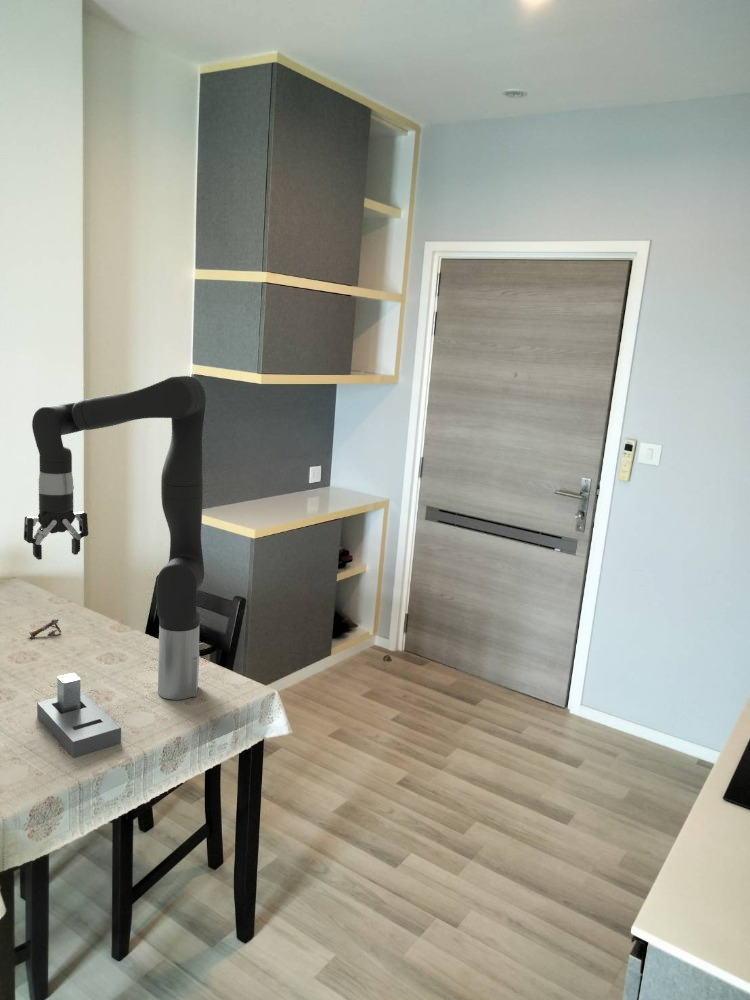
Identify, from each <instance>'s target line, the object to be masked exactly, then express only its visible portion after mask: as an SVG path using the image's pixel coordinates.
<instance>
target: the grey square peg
mask: <svg viewBox="0 0 750 1000" xmlns="http://www.w3.org/2000/svg"><path fill="white" fill-rule="evenodd" d="M56 678H57V679H56V680H57V681H56V688H57V691H56V692H57V696H56V698H57V710H58V712H59V713H60V714H63V713H67V712H71V711H75V710H78V709H80V691H81V678H80V677H79V676H78V675H77V674H76V673H75V672H73V673H67V674H64V675H63V674H62V675H58V676H57V677H56Z"/></svg>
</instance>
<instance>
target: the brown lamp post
mask: <svg viewBox="0 0 750 1000" xmlns="http://www.w3.org/2000/svg"><path fill="white" fill-rule="evenodd" d="M59 621H60V620H59V618H56V619H55V618H54V619H51V621H50V622H48V624H47V623H46V624H44V625H43V626H41V627H40V628H38V629H36V630H33V631H28V634H29V636H30V637H31V638H32V639H33V640H34V639H35V637H36V636H38V635H39V634H40V633H42V632H44V631H46V630H47V629H49V628H50V627H52V628H54V629H52V630H51V631H49V632H48V633H47V636H53V635H55V634H56V633H57V632H58V633H60V634H61V633H62V631H61V628H60V627H59V626H58V622H59Z"/></svg>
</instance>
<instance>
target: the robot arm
mask: <svg viewBox="0 0 750 1000" xmlns="http://www.w3.org/2000/svg"><path fill="white" fill-rule="evenodd" d="M206 397H207V396H206V392H205V388H204V386H203V385H202V383H201V382H200V381H199V379H197V378H195V377H193V376H190V375H181V376H180V375H179V376H171V377H168V378H165V379H164V380H161V381H159V382H156V383H153V384H151V385H149V386H146V387H143V388H141V389H137V390H133V391H129V392H124V393H115V394H114V393H113V394H106V395H100V396H95V397H91V398H86V399H82V400H79V401H77V402H71V403H63V404H55V405H47V406H46V405H45V406H42V407H39V408H37V410H36V411H35V412H34V414H33V416H32V421H31V428H32V432H33V433H32V434H33V436H34V440H35V444H36V447H37V450H38V454H39V458H38V459H39V461H38V462H39V475H38V510H39V511H38V512H39V513H38V515H37V516H30V515H26V516H25V517H24V525H23V527H24V528H23V541H25V542H27V543H28V544H32V555H33V557H34V558H35V559H37V560H38V561H40V560H42V559H43V554H42V553H43V550H42V549H43V547H42V541H43V540H44V539H45V538H46V537H48V535H49V534H57V533H66V532H68V533H69V534H70V536H71V537H72V538H71V553H72V554H73V555H74V556H76V555H78V554H79V553H80V551H81V539H82V538H84V537H87V536H89V525H88V524H89V523H88V513H86V512H84V511H83V510H79V511H78V512H74V489H75V486H74V477H73V454H72V450H71V448H69V447H67V446H65V445H64V444H63V437H62V436H64V435H65V436H66V435H69V434H73V433H74V434H75V433H78V432H81V431H91V430H97V429H104V428H108V427H114V426H116V425H117V426H118V425H121V424H124V423H128V422H132V421H137V420H142V419H171V436H170V438H171V439H170V443H169V447H168V450H167V454H166V457H165V460H164V463H163V466H162V470H161V471H162V472H161V480H160V481H161V483H160V484H161V485H160V487H161V488H160V489H161V496H160V497H161V507H162V509H163V515H164V518H165V521H166V523H167V527H168V530H169V535H170V536H169V537H170V542H169V544H170V545H169V556H168V563H166V565H164V566H163V567H162V568H161V570H160V571H159V573H158V575H157V579H156V581H157V582H156V614H157V617H158V620H159V624H158V625H159V627H158V628H159V629H158V631H159V633H158V635H159V636H158V637H159V638H158V669H157V670H158V672H157V673H158V674H157V675H158V677H157V693H158V695H159V696H160V697H161V698H163V699H167V700H173V701H174V700H175V701H179V700H186V699H190V698H196V697H197V694H198V690H199V689H198V688H199V670H200V669H199V668H200V650H199V648H200V623H201V622H200V621H201V620H200V618H201V617H200V616H201V615H200V612H199V611H198V609H197V594H198V592H197V591H198V590H199V588H200V587H201V586H202V584H203V582H204V579H205V566H204V565H205V564H204V555H203V549H202V547H203V546H202V524H203V523H202V522H203V501H204V500H203V493H204V492H203V491H204V488H203V487H204V486H203V484H204V483H203V480H204V479H203V431H204V419H205V413H206V401H207V400H206V399H207V398H206ZM75 519H76V521H78V528H79V529H78V531H77V529H75V527H74V526H73V525H72V524H73V522H74V521H75ZM37 523H38V524H40V526H39V527H38V529H37V531H36V533H34V527H35V526H36V525H37Z"/></svg>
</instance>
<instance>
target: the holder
mask: <svg viewBox="0 0 750 1000" xmlns="http://www.w3.org/2000/svg"><path fill="white" fill-rule="evenodd" d="M36 710H37V712H36V715H37V716H36V718H37V719H38V718H39V719H40V720H39V719H38V720H39V721H40V722H41V723H42V724H43V726H44V727H46V728H47V730H48V731H49V732H50V733H51V734H52V735H53V737H54V738H55V739H56V740H57V741H58V742H59V743H60V745H61V746H62V747H63V748H64V749H65V750H66V751H67V752H68V754H69V755H70V756H71V757H72V758H76V757H80V756H83V755H87V754H89V753H94V752H96V751H99V750H102V749H107V748H109V747H111V746H115V745H118V744H121V743H122V727H121V726H120V724H118V723H117V722H116V721H115V720H114V719H113V718H112V717H111V716H110V715H108V713H107V712H106V711H104V710H103V709H102V708H101V707H100V706H99V705H98V704H97V703H96V702H95V701H94V700H93V699H92V698H91V697H90V696H88V695H87V694H86V692H84V690H80V709H78V710H75V711H71V712H67V713H63V714H60V713H59V712H58V710H57V697H54V698H49V699H46V700H41V701H38V702H36Z"/></svg>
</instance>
